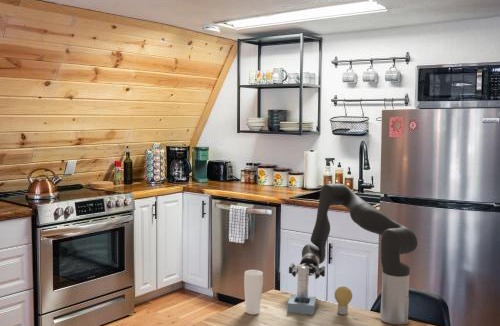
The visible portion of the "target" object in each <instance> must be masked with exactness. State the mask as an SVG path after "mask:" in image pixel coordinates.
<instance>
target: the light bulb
mask: <svg viewBox="0 0 500 326" xmlns="http://www.w3.org/2000/svg"><path fill="white" fill-rule="evenodd" d="M334 299H335V300H336V303H337V304H338V305H337V313H338V314H339V315H341V316H342V315H343V316H344V315H347V314H348V312H349V304H350V302H352V299H353V293H352V290H351V289H350V288H349V287H346V286H340V287H337V288H336V289H335V292H334Z"/></svg>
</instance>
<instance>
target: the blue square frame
mask: <svg viewBox="0 0 500 326" xmlns="http://www.w3.org/2000/svg"><path fill="white" fill-rule="evenodd" d="M287 301H288V302H287V304H286V305H287V306H286V307H287V311H286V313H288V312H290V313H289V314H297V313H301V314H300V315H306V314H310V315H309V316H314V315H315V312H314V311H316V308H317V297H316V296H309V295H308V303H300V302H297V294H291V295H290V296H289V299H288V300H287ZM302 313H303V314H302Z"/></svg>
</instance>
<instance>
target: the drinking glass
mask: <svg viewBox="0 0 500 326" xmlns="http://www.w3.org/2000/svg"><path fill="white" fill-rule="evenodd" d="M243 275H244V276H243V288H244V301H245V303H244V306H245V308H244V312H245V313H246V314H248V315H251V316H252V315H253V316H254V315H258V314H259V313H260V312H261V301H262V295H263V294H262V291H263V285H264V284H263V283H264V272H263V271H261V270H259V269H248V270H245V271H244V274H243Z"/></svg>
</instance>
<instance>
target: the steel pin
mask: <svg viewBox="0 0 500 326" xmlns="http://www.w3.org/2000/svg"><path fill="white" fill-rule="evenodd" d="M297 266H298V265H297ZM309 277H310V276H309V267H308V266H298V274H297V289H296V290H297V291H296V295H297V302H300V303H308V296H309Z"/></svg>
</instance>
